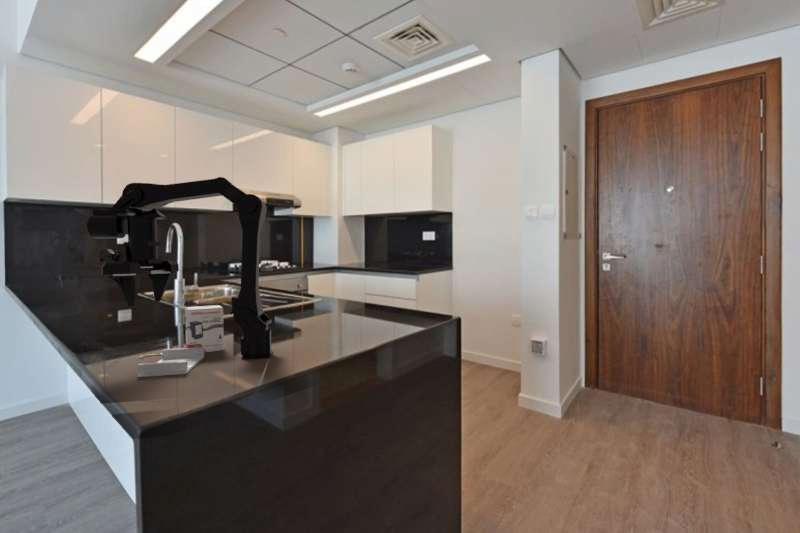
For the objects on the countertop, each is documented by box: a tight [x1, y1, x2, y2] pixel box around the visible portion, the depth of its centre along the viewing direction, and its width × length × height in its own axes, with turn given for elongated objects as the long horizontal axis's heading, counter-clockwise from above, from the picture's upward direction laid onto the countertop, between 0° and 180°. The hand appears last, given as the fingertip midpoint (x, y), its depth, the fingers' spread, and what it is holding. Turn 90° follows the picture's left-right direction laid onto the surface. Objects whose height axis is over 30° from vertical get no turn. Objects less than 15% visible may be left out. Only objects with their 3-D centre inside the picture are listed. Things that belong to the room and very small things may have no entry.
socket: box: [137, 347, 206, 378], centre depth 88 cm, size 9×14×2 cm, turn 13°
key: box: [139, 352, 162, 360], centre depth 97 cm, size 6×2×1 cm, turn 123°
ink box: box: [184, 304, 225, 353], centre depth 102 cm, size 8×5×12 cm, turn 123°
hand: (145, 303), depth 93 cm, fingers open, 9 cm apart
